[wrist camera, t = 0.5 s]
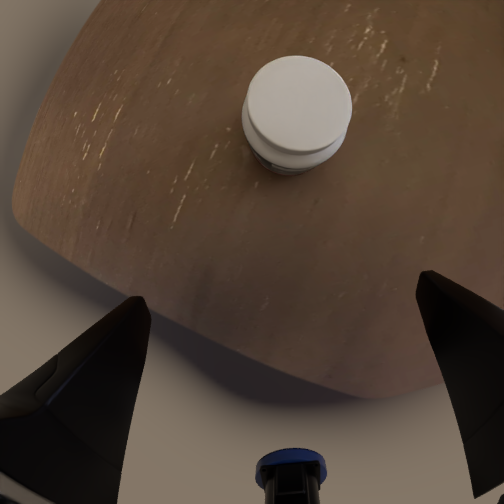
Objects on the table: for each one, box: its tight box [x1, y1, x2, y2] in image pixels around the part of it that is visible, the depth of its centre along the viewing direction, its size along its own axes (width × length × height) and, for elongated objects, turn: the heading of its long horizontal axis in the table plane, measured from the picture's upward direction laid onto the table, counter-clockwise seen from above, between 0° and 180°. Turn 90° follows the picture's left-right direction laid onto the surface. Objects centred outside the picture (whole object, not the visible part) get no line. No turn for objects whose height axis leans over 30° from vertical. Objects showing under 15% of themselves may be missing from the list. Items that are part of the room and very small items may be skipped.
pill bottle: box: [242, 56, 352, 176], centre depth 16 cm, size 6×6×10 cm
